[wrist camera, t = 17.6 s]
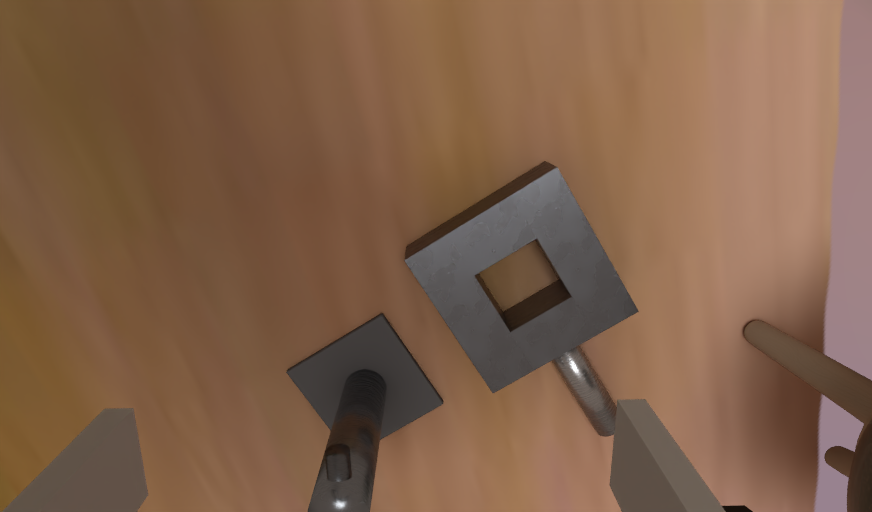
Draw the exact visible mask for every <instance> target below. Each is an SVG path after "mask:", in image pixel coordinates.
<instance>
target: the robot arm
mask: <svg viewBox="0 0 872 512" xmlns="http://www.w3.org/2000/svg"><path fill="white" fill-rule="evenodd" d="M610 487H611V489H612V491H613V494H614V496H615V498H616V500H617V502H618V504H619V506H620V508H621V511H622V512H753V511H751V510H750V509H748V508H747V507H746V506H721V505H720V503H719V502H718V500H717V499H716V498H715V496H714V495H713V493H712V492H711V491H710V489H709V488H708V486H707V485H706V484H705V482H704V481H703V479H702V478H701V477H700V475H699V474H698V472H697V471H696V470H695V468H694V467H693V465H692V464H691V463H690V461H689V460H688V458H687V457H686V456H685V454H684V453H683V451H682V450H681V449H680V447H679V446H678V444H677V443H676V442H675V440H674V439H673V437H672V436H671V435H670V433H669V432H668V431H667V429H666V428H665V426H664V425H663V424H662V422H661V421H660V419H659V418H658V417H657V415H656V414H655V412H654V411H653V410H652V408H651V407H650V405H649V404H648V403H647V401H646V400H645V399H635V400H617V410H616V421H615V432H614V443H613V454H612V465H611V476H610ZM147 496H148V490H147V485H146V479H145V473H144V467H143V461H142V456H141V450H140V444H139V438H138V432H137V427H136V421H135V415H134V409H133V408H121V409H104V410H103V411H102V412H101V413H100V414H99V415H98V416H97V417H96V418H95V419H94V420H93V421H92V422H91V423H90V424H89V425H88V426H87V427H86V428H85V429H84V430H83V431H82V432H81V433H80V434H79V435H78V436H77V437H76V438H75V439H74V440H73V441H72V442H71V443H70V444H69V445H68V446H67V447H66V448H65V449H64V450H63V451H62V452H61V453H60V454H59V455H58V456H57V457H56V458H55V459H54V460H53V461H52V462H51V463H50V464H49V465H48V466H47V467H46V468H45V469H44V470H43V471H42V472H41V473H40V474H39V475H38V476H37V477H36V478H35V479H34V480H33V481H32V482H31V483H30V484H29V485H28V486H27V487H26V488H25V489H24V490H23V491H22V492H21V493H20V494H19V495H18V496H17V497H16V498H15V499H14V500H13V501H12V502H11V503H10V504H9V505H8V506H7V507H6V508H5V509H4V510H3V511H2V512H137V511H138V509H139V508H140V506H141V505H142V503H143V502H144V500H145V499H146V497H147Z"/></svg>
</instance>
